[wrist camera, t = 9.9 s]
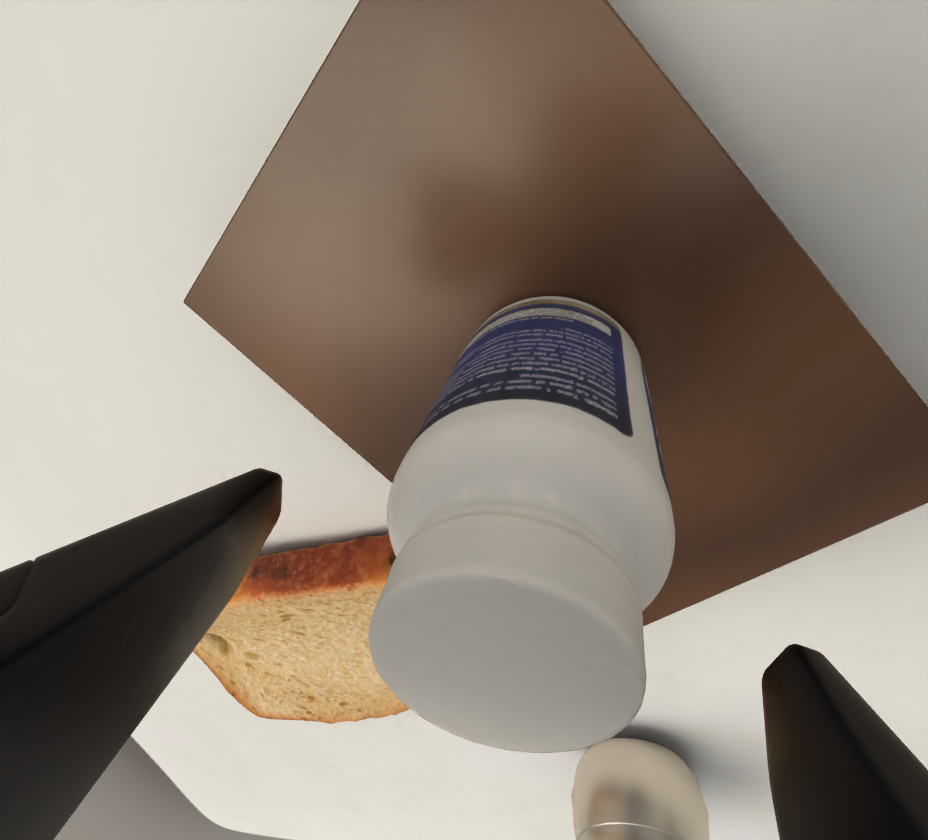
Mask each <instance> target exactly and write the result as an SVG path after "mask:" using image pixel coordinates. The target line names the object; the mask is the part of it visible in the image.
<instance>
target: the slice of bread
mask: <svg viewBox="0 0 928 840" xmlns="http://www.w3.org/2000/svg"><path fill="white" fill-rule="evenodd" d="M395 559H396V556H395V553H394V550H393V547H392V544H391V541H390V536H389V533H386V534H384V535H380V536H360V537H357V538H355V539H352V540H350V541H346V542H339V543H327V544H324V545H321V546H317V547H310V548H300V549H294V550H289V551H284V552H280V553H275V554H270V555H264V556H259V557H256V558H255V560H254V562H253V563H252V565H251V567H250V569H249V570H248V572H247V574H246V575H245V577H244V579H243V581H242V582H241V584H240V586H239V587H238V589H237V590H236V592H235V594H234V595H233V597H232V598H231V600H230V601H229V602H228V604H227V605H226V607H225V608H224V609H223V611H222V612H221V613H220V615H219V616H218V618H217V619H216V620H215V622H214V623H213V624H212V626H211V627H210V628H209V630H208V631H207V632H206V634H205V635H204V636H203V638H202V639H201V641H200V642H199V643H198V645H197V646H196V647H195V649H194V650H193V651H192V652H194V653H195V654H196V655H197V656H198V657H199V658H200V659H201V660H202V661H203V662H204V663H205V664H206V665H207V667H208V668H209V669H210V670H211V671H212V672H213V673H214V675H215V676H216V677H217V678H218V679H219V680H220V682H221V683H222V685H223V686H224V688H225V689H226V690H227V691H228V692H229V693H230V694H231V695H232V696H233V697H234V698H235V699H236V700H237V701H238V702H239V703H240V704H242V705H243V706H244V707H245V708H246V709H248V710H249V711H250V712H252V713H253V714H255V715H257V716H259V717H262V718H268V719H282V720H305V721H319V722H325V723H331V724H332V723H336V722H340V721H354V722H356V721H359V720H362V719H366V718H380V717H385V716H388V715H391V714H394V715H395V714H398V713H400V712H404V711H406V710H408V709H410V708H408V707H407V706H406V705H405V704H404V703H403V702H402V701H401V700H400V699H399V698H398V697H397V696H396V695H395V694H394V693H393V692H392V691H391V690H390V689H389V687H388V686H387V685H386V683H385V682H384V681H383V679H382V678H381V676H380V675H379V673H378V671H377V670H376V668H375V665H374V662H373V659H372V656H371V653H370V648H369V636H368V634H369V628H370V621H371V618H372V615H373V612H374V610H375V607H376V605H377V603H378V600H379V598H380V596H381V594H382V591H383V589H384V587H385V584H386V582H387V579H388V576H389V573H390V570H391V568H392V565H393V563H394V561H395Z"/></svg>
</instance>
